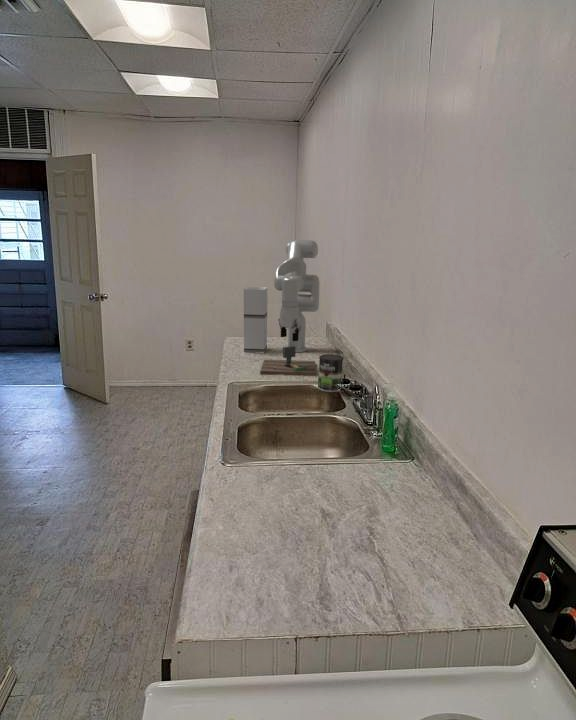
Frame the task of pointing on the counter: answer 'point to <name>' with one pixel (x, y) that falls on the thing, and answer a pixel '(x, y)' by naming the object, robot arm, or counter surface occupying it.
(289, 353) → the tuning peg
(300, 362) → the wooden cutting board
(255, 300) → the tall grey two-section tower
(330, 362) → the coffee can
